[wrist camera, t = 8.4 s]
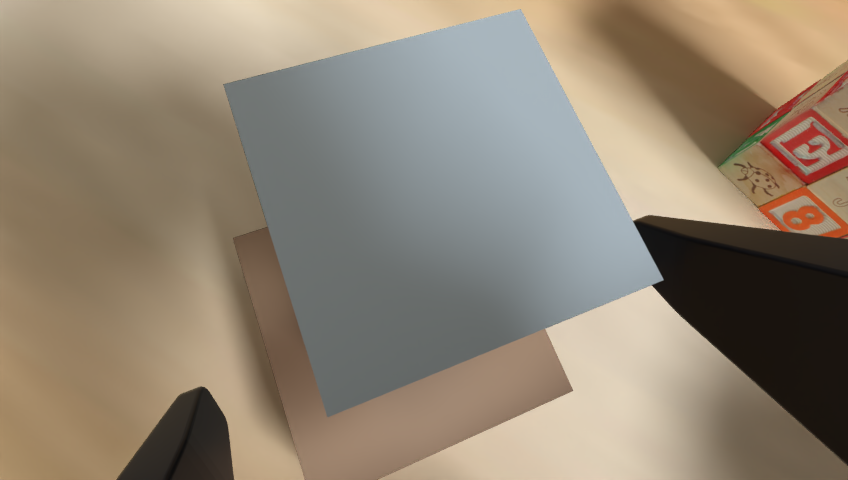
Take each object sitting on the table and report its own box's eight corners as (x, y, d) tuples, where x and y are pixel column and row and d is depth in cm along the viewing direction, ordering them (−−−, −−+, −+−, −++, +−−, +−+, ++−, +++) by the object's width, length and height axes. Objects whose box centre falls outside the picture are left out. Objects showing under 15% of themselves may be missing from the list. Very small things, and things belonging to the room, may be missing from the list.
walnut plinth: (537, 388, 21) (573, 390, 17) (326, 482, 19) (313, 508, 15) (453, 197, 23) (468, 161, 19) (258, 263, 21) (232, 238, 18)
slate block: (474, 346, 17) (663, 280, 6) (363, 390, 16) (327, 417, 5) (431, 240, 18) (520, 9, 7) (325, 277, 17) (223, 84, 6)
